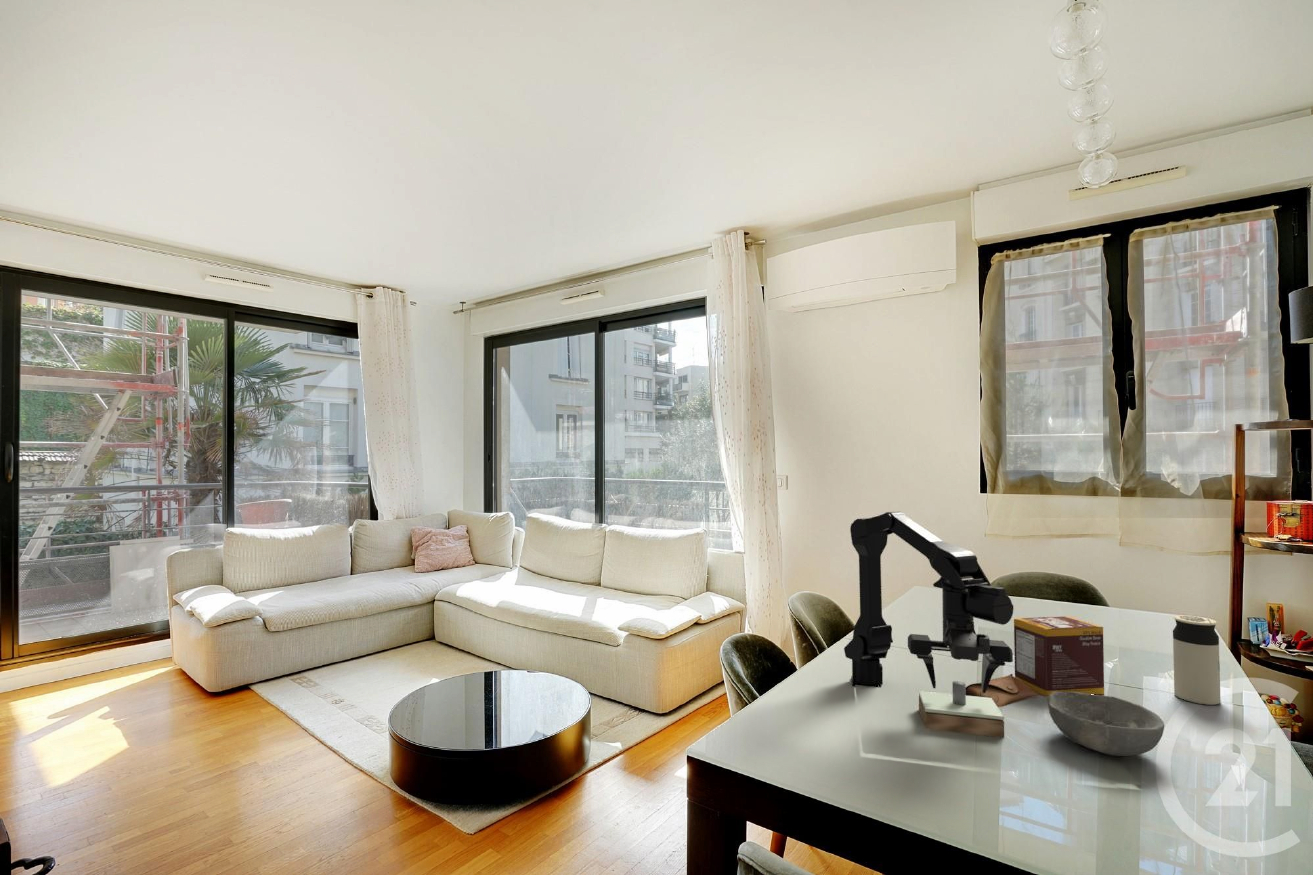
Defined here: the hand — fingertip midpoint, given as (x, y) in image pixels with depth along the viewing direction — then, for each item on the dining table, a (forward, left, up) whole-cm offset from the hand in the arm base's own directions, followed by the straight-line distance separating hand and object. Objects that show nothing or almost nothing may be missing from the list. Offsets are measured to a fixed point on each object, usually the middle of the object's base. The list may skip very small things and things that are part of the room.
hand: (958, 690), depth 128 cm
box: (0, 0, -7) cm, 7 cm away
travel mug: (+55, +31, -7) cm, 64 cm away
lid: (0, 0, -3) cm, 3 cm away
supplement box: (+27, +30, -7) cm, 41 cm away
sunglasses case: (+13, +19, -8) cm, 24 cm away
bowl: (+24, -4, -7) cm, 26 cm away
